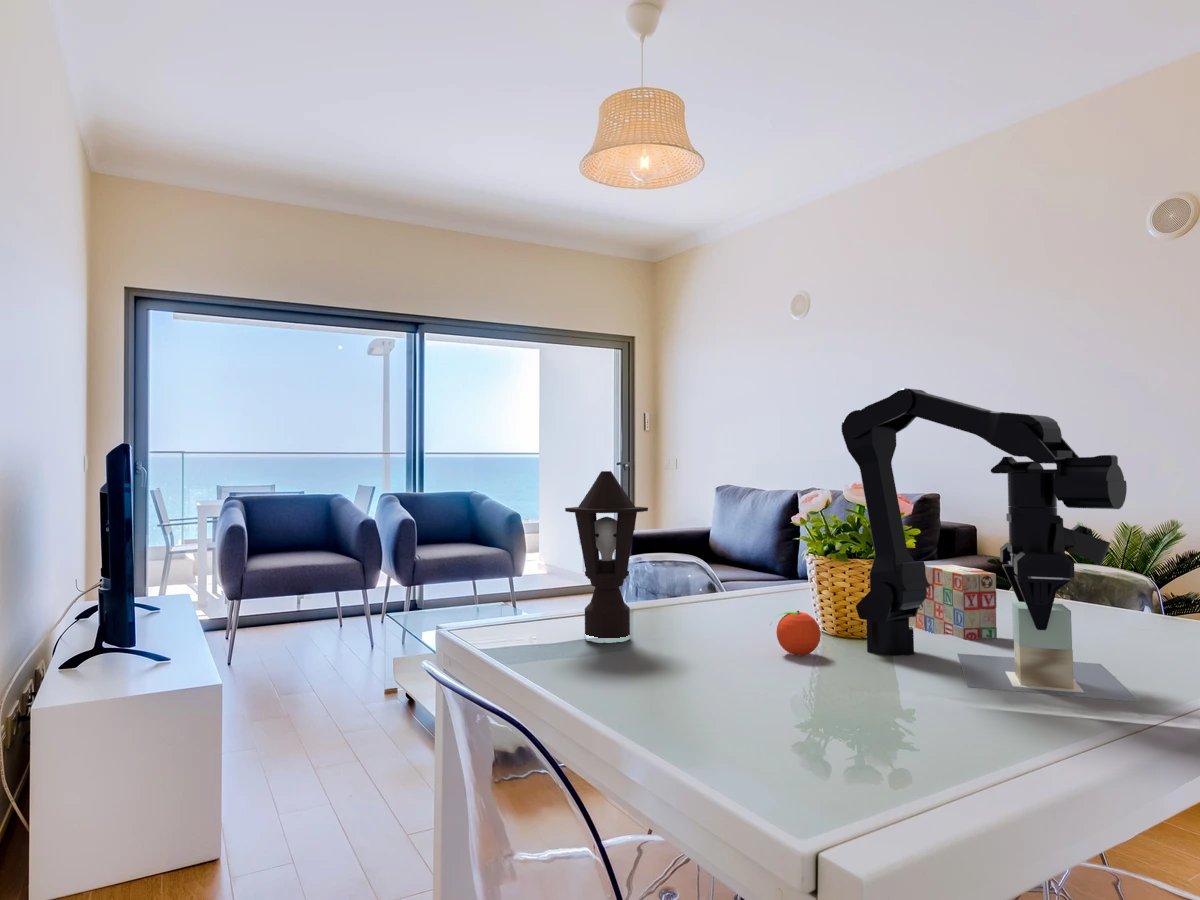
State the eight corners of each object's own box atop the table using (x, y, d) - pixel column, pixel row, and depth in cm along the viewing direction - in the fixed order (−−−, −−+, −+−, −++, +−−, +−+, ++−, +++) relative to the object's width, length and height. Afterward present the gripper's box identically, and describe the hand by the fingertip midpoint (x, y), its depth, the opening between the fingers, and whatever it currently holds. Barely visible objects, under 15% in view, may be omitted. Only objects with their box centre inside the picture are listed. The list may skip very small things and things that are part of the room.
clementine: (767, 658, 119) (767, 612, 119) (772, 648, 126) (771, 605, 126) (820, 661, 117) (819, 615, 117) (822, 651, 123) (821, 608, 123)
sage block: (1019, 646, 99) (1018, 608, 99) (1013, 637, 104) (1012, 601, 105) (1072, 650, 97) (1071, 611, 97) (1062, 640, 102) (1061, 603, 102)
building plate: (967, 694, 98) (967, 686, 98) (957, 659, 117) (957, 652, 117) (1141, 710, 91) (1141, 701, 91) (1101, 670, 110) (1100, 663, 110)
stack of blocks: (898, 622, 148) (896, 559, 149) (928, 621, 149) (926, 559, 149) (964, 646, 127) (962, 573, 127) (998, 644, 128) (996, 572, 128)
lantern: (563, 631, 141) (562, 471, 142) (641, 629, 143) (639, 471, 144) (569, 649, 126) (567, 471, 127) (655, 646, 128) (653, 470, 129)
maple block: (1020, 684, 99) (1019, 646, 99) (1014, 673, 104) (1013, 637, 104) (1073, 689, 96) (1072, 650, 97) (1064, 677, 102) (1063, 640, 102)
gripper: (1121, 510, 90) (1126, 642, 89) (1086, 505, 107) (1089, 615, 107) (1016, 509, 94) (1019, 635, 93) (998, 504, 111) (1000, 610, 111)
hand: (1035, 623), depth 101 cm, fingers open, 9 cm apart
